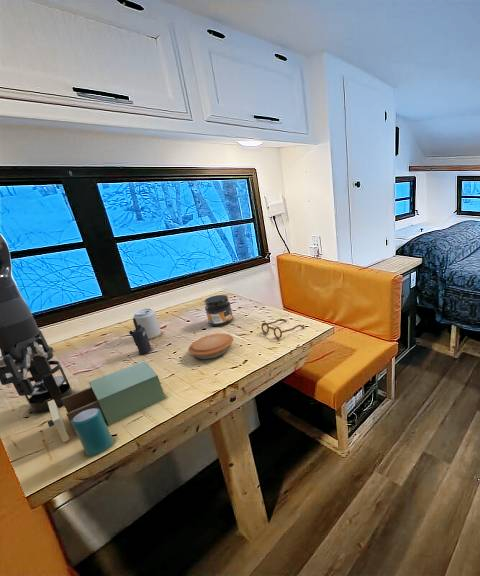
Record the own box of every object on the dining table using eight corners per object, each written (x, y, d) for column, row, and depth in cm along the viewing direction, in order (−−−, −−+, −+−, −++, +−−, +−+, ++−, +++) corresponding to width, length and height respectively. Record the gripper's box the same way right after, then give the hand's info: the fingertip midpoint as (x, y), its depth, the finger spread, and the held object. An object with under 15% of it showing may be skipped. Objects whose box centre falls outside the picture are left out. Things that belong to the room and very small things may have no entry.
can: (163, 335, 132) (156, 310, 128) (142, 342, 127) (133, 316, 123) (159, 330, 137) (151, 305, 132) (139, 336, 132) (130, 311, 127)
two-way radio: (148, 354, 118) (136, 319, 113) (134, 356, 116) (122, 321, 111) (152, 347, 123) (141, 313, 118) (139, 349, 121) (127, 315, 116)
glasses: (261, 332, 132) (259, 322, 131) (285, 321, 143) (284, 311, 141) (281, 340, 126) (279, 329, 124) (305, 328, 136) (303, 317, 134)
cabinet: (108, 425, 84) (97, 400, 81) (98, 405, 91) (88, 381, 88) (165, 398, 94) (157, 375, 91) (152, 382, 101) (144, 360, 98)
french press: (25, 407, 91) (-11, 339, 83) (66, 388, 99) (36, 325, 91) (41, 419, 87) (5, 349, 79) (83, 398, 94) (54, 333, 86)
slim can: (88, 459, 74) (72, 426, 70) (84, 448, 77) (68, 416, 73) (115, 445, 77) (101, 413, 74) (110, 435, 80) (97, 404, 77)
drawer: (56, 445, 77) (45, 424, 74) (51, 424, 83) (40, 404, 81) (124, 413, 87) (116, 394, 84) (114, 397, 93) (107, 378, 91)
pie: (234, 338, 128) (232, 327, 127) (235, 356, 115) (232, 344, 113) (192, 347, 122) (189, 336, 121) (188, 367, 109) (184, 355, 107)
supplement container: (217, 329, 136) (211, 304, 132) (204, 324, 142) (198, 300, 138) (238, 320, 145) (233, 296, 141) (225, 315, 150) (220, 292, 146)
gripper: (0, 311, 69) (30, 371, 74) (-45, 338, 57) (-6, 408, 62) (45, 304, 72) (71, 363, 77) (11, 329, 60) (44, 396, 66)
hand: (37, 383), depth 70 cm, fingers open, 8 cm apart
